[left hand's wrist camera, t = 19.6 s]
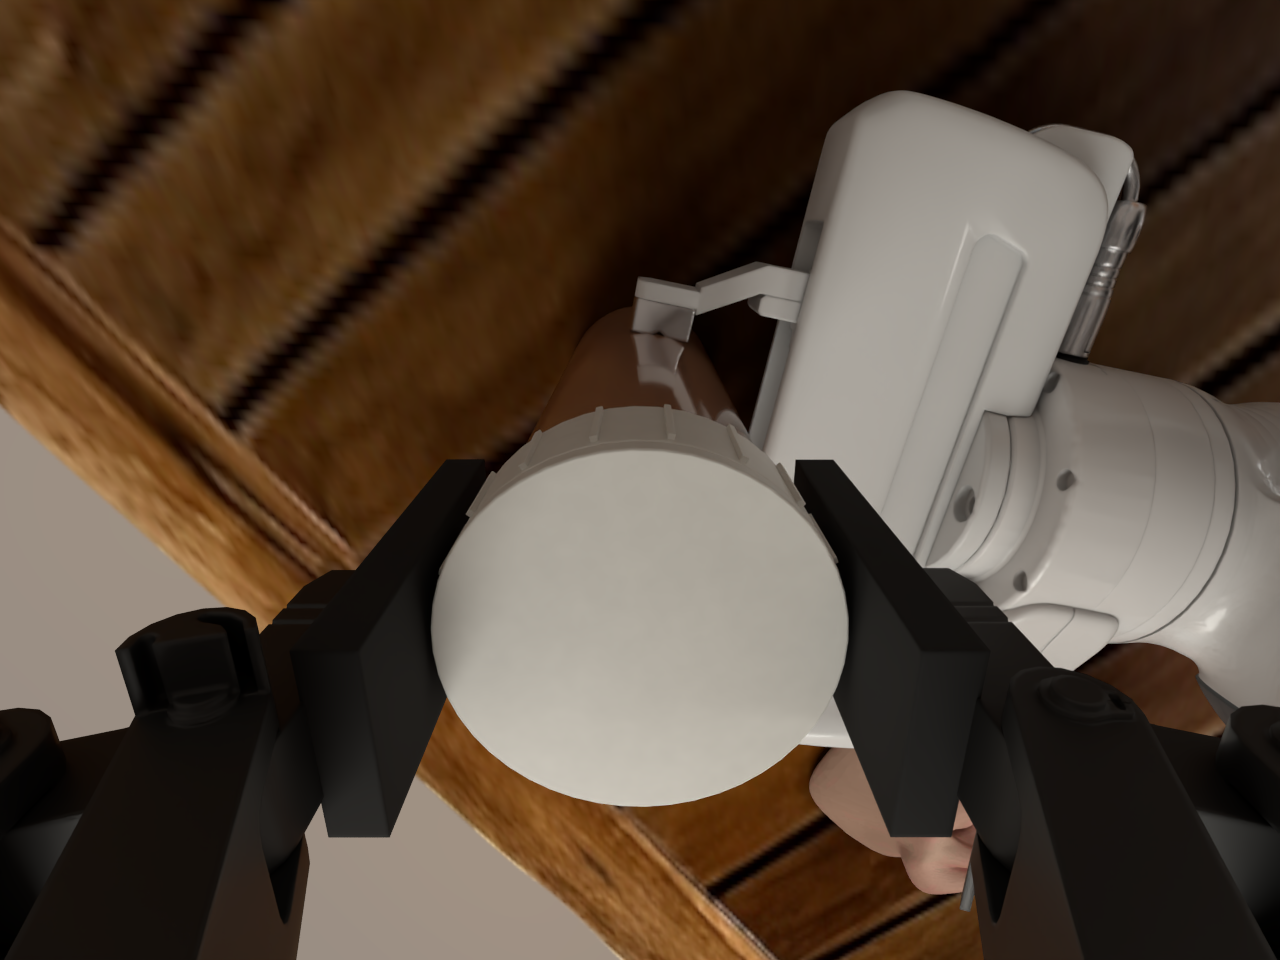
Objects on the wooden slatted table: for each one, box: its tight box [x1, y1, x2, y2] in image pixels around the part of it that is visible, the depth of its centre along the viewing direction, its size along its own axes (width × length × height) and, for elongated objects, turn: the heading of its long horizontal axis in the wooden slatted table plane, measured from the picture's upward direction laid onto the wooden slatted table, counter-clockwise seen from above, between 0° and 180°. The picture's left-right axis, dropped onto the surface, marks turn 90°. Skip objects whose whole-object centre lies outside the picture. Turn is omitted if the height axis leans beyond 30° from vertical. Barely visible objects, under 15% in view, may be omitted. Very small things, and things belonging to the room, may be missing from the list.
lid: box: [431, 404, 849, 806], centre depth 11 cm, size 6×6×2 cm
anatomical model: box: [809, 747, 976, 894], centre depth 32 cm, size 13×4×12 cm
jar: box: [527, 307, 753, 443], centre depth 19 cm, size 6×6×18 cm
